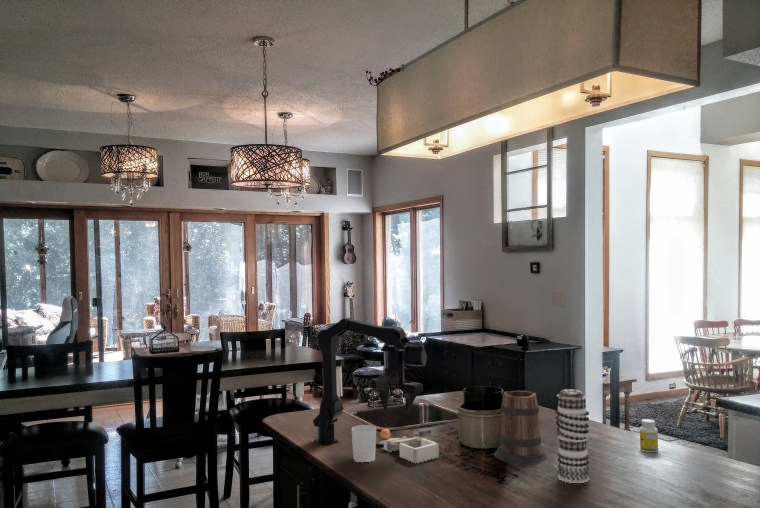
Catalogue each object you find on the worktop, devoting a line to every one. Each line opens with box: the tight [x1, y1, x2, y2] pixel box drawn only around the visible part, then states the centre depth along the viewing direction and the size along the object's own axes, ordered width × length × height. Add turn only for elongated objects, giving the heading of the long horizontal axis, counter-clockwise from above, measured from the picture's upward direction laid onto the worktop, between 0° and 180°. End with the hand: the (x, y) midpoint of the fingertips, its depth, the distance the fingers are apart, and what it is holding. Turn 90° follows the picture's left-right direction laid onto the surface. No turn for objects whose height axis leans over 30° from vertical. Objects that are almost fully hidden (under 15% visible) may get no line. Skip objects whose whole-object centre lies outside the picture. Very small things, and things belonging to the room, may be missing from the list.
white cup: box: [351, 424, 377, 464], centre depth 187 cm, size 8×8×10 cm
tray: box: [399, 438, 440, 465], centre depth 188 cm, size 8×10×4 cm
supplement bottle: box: [639, 418, 659, 453], centre depth 192 cm, size 5×5×10 cm
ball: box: [379, 428, 391, 440], centre depth 203 cm, size 4×4×4 cm
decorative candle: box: [554, 388, 590, 484], centre depth 168 cm, size 9×9×25 cm
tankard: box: [493, 390, 549, 465], centre depth 192 cm, size 24×17×20 cm
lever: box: [376, 429, 436, 445], centre depth 201 cm, size 16×15×2 cm
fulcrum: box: [380, 435, 409, 453], centre depth 198 cm, size 5×9×3 cm, turn 125°
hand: (396, 411), depth 197 cm, fingers open, 9 cm apart
